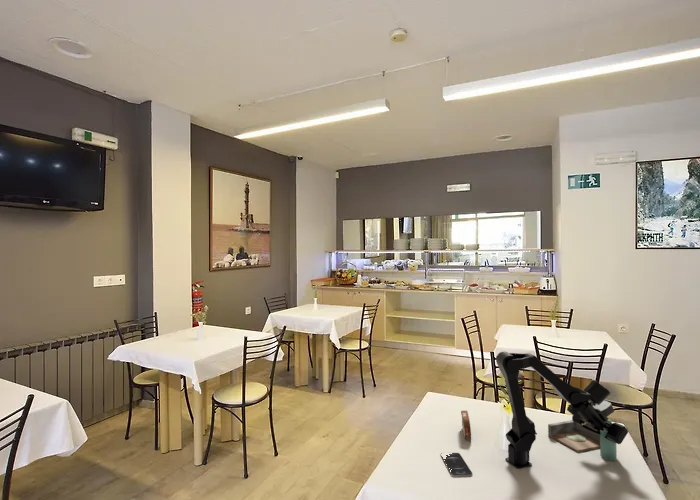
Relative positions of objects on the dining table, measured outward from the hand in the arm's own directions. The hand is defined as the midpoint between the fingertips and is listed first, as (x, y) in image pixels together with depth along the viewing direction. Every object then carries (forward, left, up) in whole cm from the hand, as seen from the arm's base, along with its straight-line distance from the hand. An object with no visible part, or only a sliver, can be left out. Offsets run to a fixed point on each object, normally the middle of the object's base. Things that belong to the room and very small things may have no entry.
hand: (610, 438), depth 143 cm
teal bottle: (-1, 0, -7) cm, 7 cm away
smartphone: (-57, +13, -7) cm, 59 cm away
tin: (-40, +32, -7) cm, 52 cm away
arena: (-2, +13, -7) cm, 15 cm away
